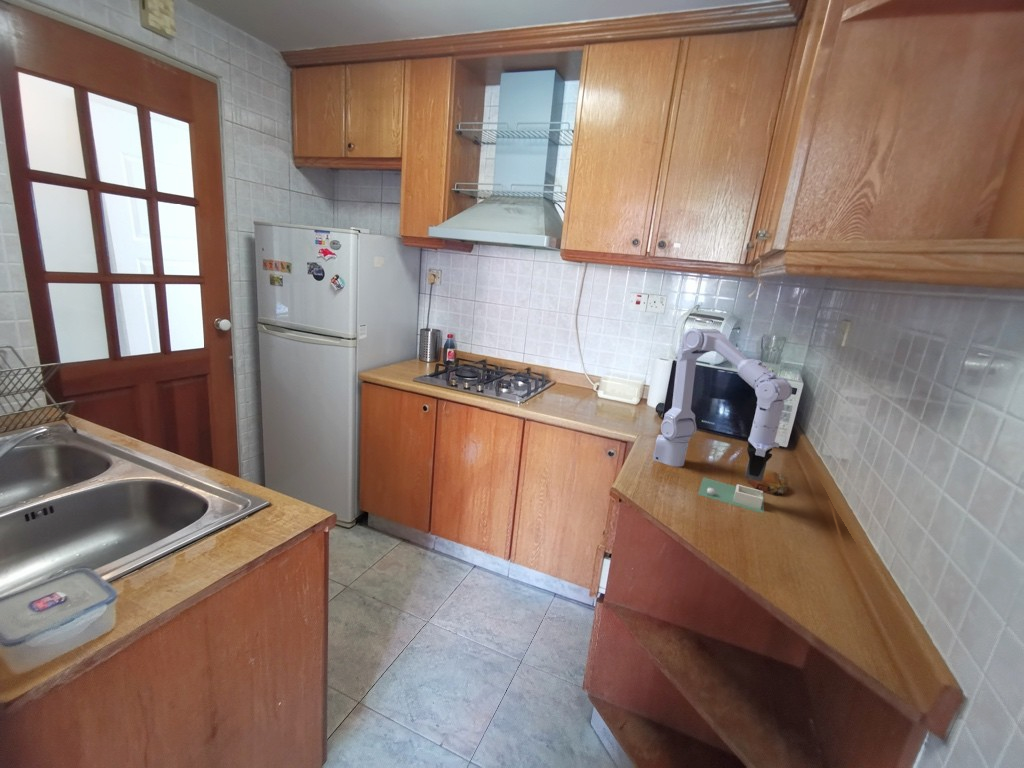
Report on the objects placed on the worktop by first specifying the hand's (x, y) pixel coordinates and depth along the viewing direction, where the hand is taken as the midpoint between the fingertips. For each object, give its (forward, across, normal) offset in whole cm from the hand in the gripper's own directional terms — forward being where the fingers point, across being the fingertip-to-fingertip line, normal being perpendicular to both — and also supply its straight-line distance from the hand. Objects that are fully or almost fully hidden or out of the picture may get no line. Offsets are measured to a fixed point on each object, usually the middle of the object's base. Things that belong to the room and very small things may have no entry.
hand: (753, 472), depth 118 cm
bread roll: (+10, +14, -5) cm, 18 cm away
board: (+9, +2, +4) cm, 10 cm away
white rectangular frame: (+8, 0, 0) cm, 8 cm away
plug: (+1, 0, 0) cm, 1 cm away
